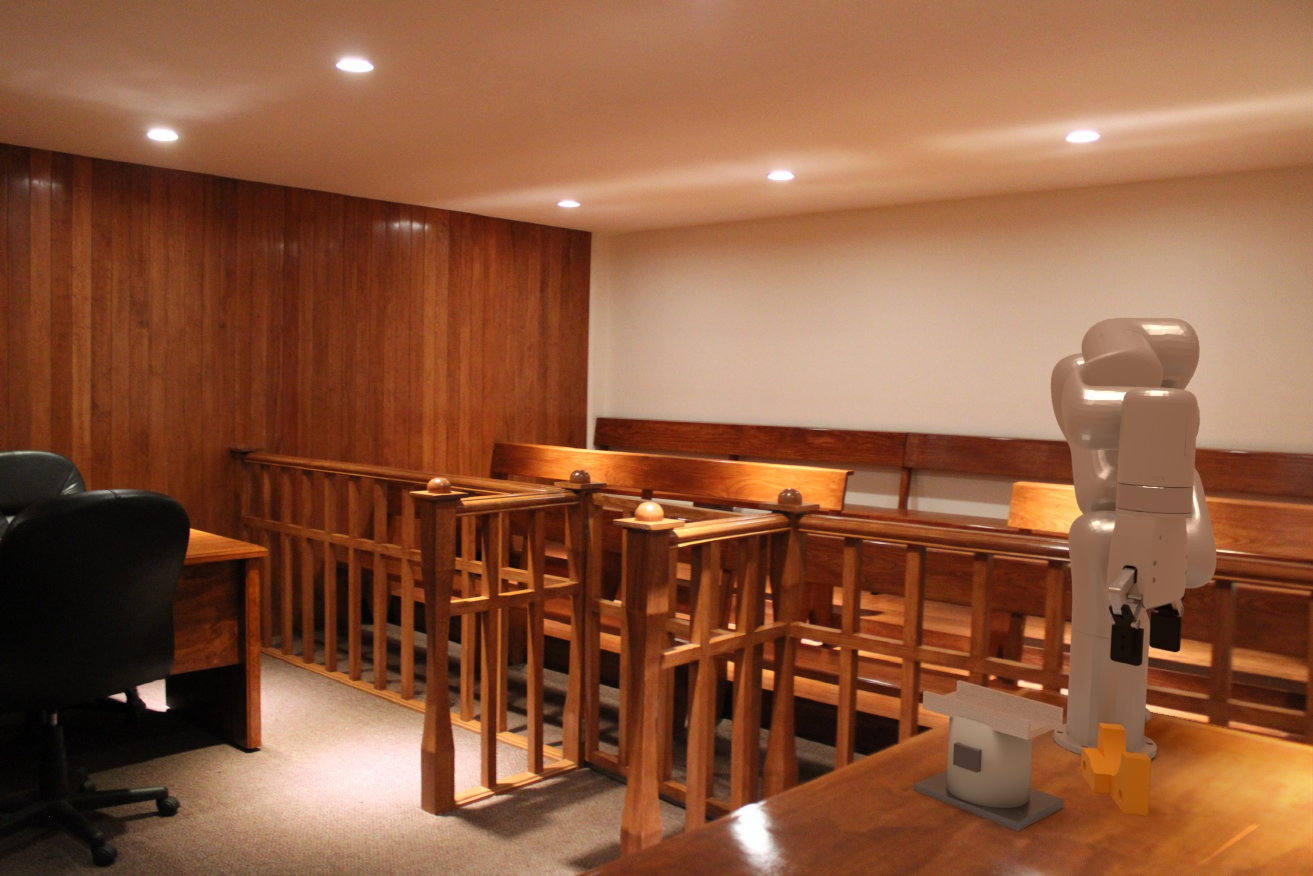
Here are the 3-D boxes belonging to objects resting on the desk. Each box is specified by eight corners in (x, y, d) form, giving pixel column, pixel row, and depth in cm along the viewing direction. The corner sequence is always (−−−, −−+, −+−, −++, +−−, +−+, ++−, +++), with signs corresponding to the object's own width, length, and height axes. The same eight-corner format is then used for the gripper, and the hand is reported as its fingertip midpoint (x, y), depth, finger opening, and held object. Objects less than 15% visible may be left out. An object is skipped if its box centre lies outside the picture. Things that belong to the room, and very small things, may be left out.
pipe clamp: (1080, 773, 125) (1083, 721, 125) (1118, 776, 124) (1121, 724, 124) (1106, 813, 113) (1109, 756, 113) (1147, 817, 112) (1151, 760, 112)
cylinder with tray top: (961, 772, 124) (965, 678, 123) (1063, 807, 114) (1068, 706, 113) (913, 792, 117) (917, 693, 116) (1017, 831, 107) (1022, 723, 107)
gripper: (1152, 494, 119) (1145, 638, 120) (1082, 502, 108) (1074, 660, 109) (1221, 501, 114) (1212, 651, 114) (1155, 509, 102) (1146, 677, 103)
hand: (1145, 656), depth 112 cm, fingers open, 9 cm apart
